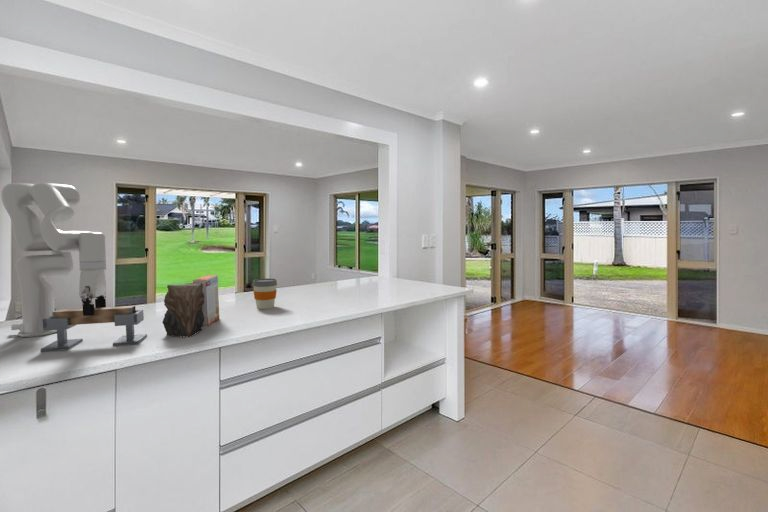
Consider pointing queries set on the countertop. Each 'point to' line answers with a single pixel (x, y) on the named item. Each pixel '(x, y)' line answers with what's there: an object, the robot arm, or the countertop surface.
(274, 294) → the reusable coffee cup
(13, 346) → the countertop surface
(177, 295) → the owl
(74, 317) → the rail
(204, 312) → the cracker box
